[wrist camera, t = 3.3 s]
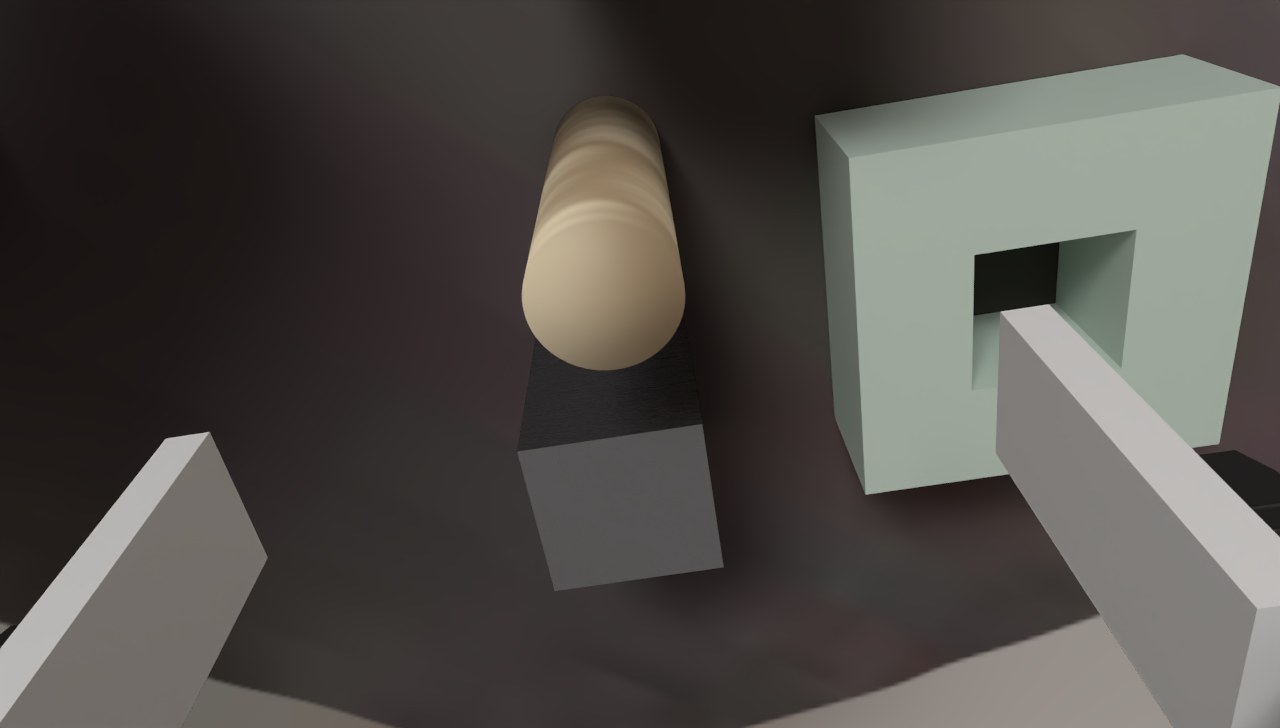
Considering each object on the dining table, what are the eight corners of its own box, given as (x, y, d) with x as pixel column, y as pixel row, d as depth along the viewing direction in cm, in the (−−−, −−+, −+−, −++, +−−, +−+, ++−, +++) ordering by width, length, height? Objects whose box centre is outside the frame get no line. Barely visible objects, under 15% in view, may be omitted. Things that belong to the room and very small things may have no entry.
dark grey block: (565, 451, 36) (554, 591, 29) (536, 330, 34) (517, 451, 27) (702, 431, 36) (723, 567, 29) (683, 307, 34) (702, 424, 27)
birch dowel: (564, 209, 32) (540, 381, 21) (542, 105, 30) (505, 235, 19) (667, 192, 31) (695, 357, 21) (651, 86, 30) (672, 209, 19)
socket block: (834, 417, 36) (865, 494, 32) (814, 115, 30) (849, 158, 26) (1143, 371, 35) (1219, 443, 31) (1183, 54, 30) (1282, 87, 25)
